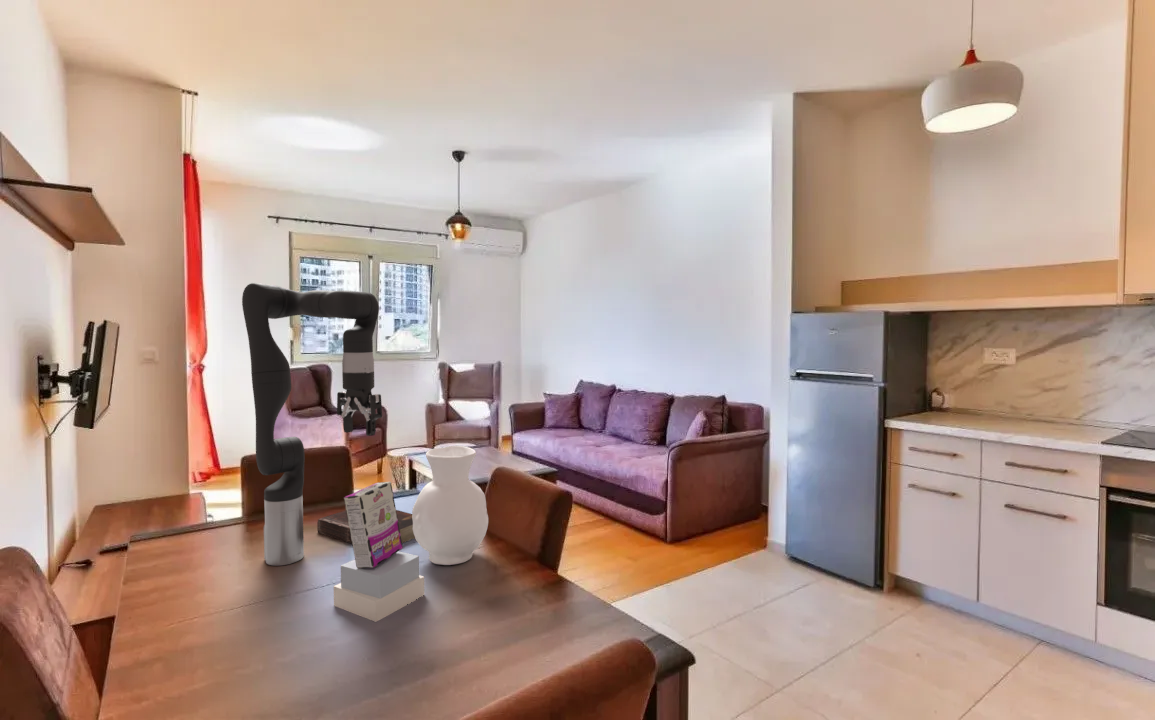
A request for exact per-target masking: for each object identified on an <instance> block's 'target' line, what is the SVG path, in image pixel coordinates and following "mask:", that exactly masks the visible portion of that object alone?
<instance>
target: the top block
mask: <svg viewBox="0 0 1155 720" xmlns="http://www.w3.org/2000/svg"><path fill="white" fill-rule="evenodd" d="M419 575H420V556H419V555H417V554H416V555H415V554H411V553H408V552H403V551H401V550H399V551H398V552H396V553H395V554H393V555H392V556H390V557H389V558H387V559H386V560H384V561H383V562H381V563H380V564H378V565H377V566H375V567H373V568H357V567H356V561H355V558H354V559H352V560H350V561H348V562H346V563H345V562H344V563H343V564H341V565H340V583H341V588H345V589H348V590H352V591H355V592H359V593H362V594H366V595H369V596H373V597H376V598H380V599H381V598H383V597H384V596H386V595H388V594H390V593H391V592H393V591H395V590H397V589H399V588H400V587H402V586H404V585H406V584H408V583H409V582H411V581H413V580H415V579H416V578H418V577H419Z"/></svg>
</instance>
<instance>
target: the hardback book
mask: <svg viewBox="0 0 1155 720" xmlns="http://www.w3.org/2000/svg"><path fill="white" fill-rule="evenodd" d="M396 514H397V518H398V524H399V530H400V535H401V541H402V544H403V543H406V541H407V542H409V541H411V539H412V540H414V539H415V536H414V533H413V519H412V513H409V512H406V511H402V510H399V509H396ZM316 527H317V533H318V534H322V535H324V536H328V537H331V538H334V539H336V540H340V541H343V542H346V543H349V544H352V540H351V533H350V528H349V523H348V517H347V512H346V509H345V510H343V511H340V512H337V513H333V514H330V515H327V516H323V517H321V518H318V519H317V525H316Z"/></svg>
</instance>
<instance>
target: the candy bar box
mask: <svg viewBox="0 0 1155 720" xmlns="http://www.w3.org/2000/svg"><path fill="white" fill-rule="evenodd" d="M343 500H344V505H345V510H346V512H347V517H348V523H349V528H350V533H351V540H352V549H353V555H354V559H355V561H356V567H357V568H373V567H375V566H377V565H378V564H380V563H381V562H383V561H384V560H386V559H387V558H389V557H390V556H392V555H393V554H395V553H396V552H398V551H401V550H402V549H403V548H404V546H403V543H402V541H401V535H400V530H399V524H398V518H397V514H396V510H397V508H396V502H395V498H394V491H393V486H392V482H391V481H383V482H375V483H373V484H371V485H368V486H366V487H364V488H361V489H359V490H357V491H355V492H353V493H351V494H349V495H345V496H344V497H343Z"/></svg>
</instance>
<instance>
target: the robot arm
mask: <svg viewBox="0 0 1155 720" xmlns="http://www.w3.org/2000/svg"><path fill="white" fill-rule="evenodd" d="M241 305H242V312H243V317H244V322H245V327H246V333H247V339H248V347H249V355H250V368H251V370H250V371H251V383H252V393H253V403H254V411H255V413H254V415H255V461H256V466H257V468H258V471H259V473H261V475H263V476H270V475H271V476H272V475H276V474H277V475H278V474H282V473H283V474H282V476H281V477H280V478H279V479H277V480H276V481H275V482H273V483H271V484H269V485H268V486H267V487H265V488H264V491H263V498H264V499H263V501H264V502H263V503H264V525H263V546H264V547H263V548H264V549H263V553H264V554H263V555H264V558H263V559H264V561H265V564H266V565H269V566H274V567H275V566H285V565H290V564H293V563H297V562H299V561H301V560H302V559H303V558H304V557H305V548H304V543H305V541H304V538H305V537H304V505H303V501H304V498H303V489H304V485H305V462H306V461H305V460H306V459H305V447H304V444H303V441H302V440H301V439H300V438H299V437H297V436H289V437H281V438H280V437H279V438H274V437H275V435H274V434H275V425H276V421H277V418H278V417H279V415H280V412H281V411H282V409H283V407H284V406H285V404H286V401H287V400H288V398H289V396H290V394H291V391H292V377H291V376H292V375H291V368H290V363H289V361H288V359H287V357H286V356H285V354H284V352H283V351H282V349H281V348H280V347H279V346H278V344H277V342H276V341H275V339H274V337H273V335H272V331H271V327H270V322H269V321H270V320H269V319H272V320H276V319H284V318H289V317H294V316H309V317H314V318H325V319H326V318H328V319H329V318H332V319H334V318H337V319H345V320H354V324H353V327H351V328H347V330H344V332H343V334H342V352H343V353H342V359H341V360H342V361H341V362H342V363H341V369H342V389H343V390H344V391H339V392H337V397H336V400H337V401H336V413H337V415H338V416H341V418H342V420H343V422H342V424H343V426H342V428H343V432H344V433H353V431H354V423H353V422H354V421H353V420H354V418H353V415H354V414H355V412H356V411H357V412H358V411H359V412H360V413H361V414H362V415H363V416H364V418H365V420H366V421H365V435H366V436H367V437H368V436H369V437H370V436H375V435H376V431H377V429H376V427H377V426H376V425H377V424H376V422H377V420H378V419H382V418H383V407H382V395H381V394H380V393H378V394H377V393H376V394H373V393H372V390H373V389H374V388H375V359H374V352H373V351H374V350H373V347H374V346H373V345H374V344H373V341H374V339H373V336H374V333H375V330H376V327H377V326H376V325H377V321H378V318H379V314H380V306H379V301H378V299H377V297H376V296H375V295H374V294H373V293H371V292H368V291H356V290H320V289H317V290H315V289H314V290H308V291H296V290H293V289H289V288H284V287H282V286H279V285H274V284H267V283H261V282H259V283H258V282H251V283H249V284H247V285H246V286H245V288H244V289H243V292H242V297H241ZM342 407H343V408H342Z"/></svg>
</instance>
